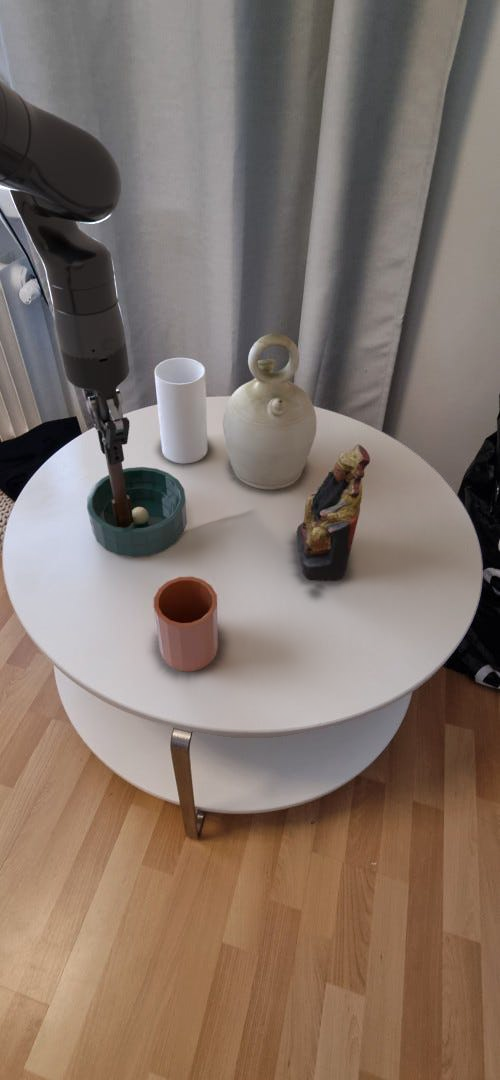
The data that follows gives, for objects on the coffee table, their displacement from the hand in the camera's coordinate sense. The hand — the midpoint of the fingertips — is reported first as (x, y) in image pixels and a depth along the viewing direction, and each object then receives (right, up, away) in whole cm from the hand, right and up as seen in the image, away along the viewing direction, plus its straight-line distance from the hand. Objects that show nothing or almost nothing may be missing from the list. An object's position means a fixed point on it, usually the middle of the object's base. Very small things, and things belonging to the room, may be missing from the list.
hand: (112, 456), depth 80 cm
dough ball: (+2, -8, +11) cm, 14 cm away
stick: (0, -9, +10) cm, 13 cm away
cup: (+7, +5, +26) cm, 28 cm away
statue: (+30, -15, +9) cm, 34 cm away
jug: (+22, +1, +24) cm, 32 cm away
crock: (+11, -26, -2) cm, 28 cm away
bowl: (+1, -9, +13) cm, 16 cm away
